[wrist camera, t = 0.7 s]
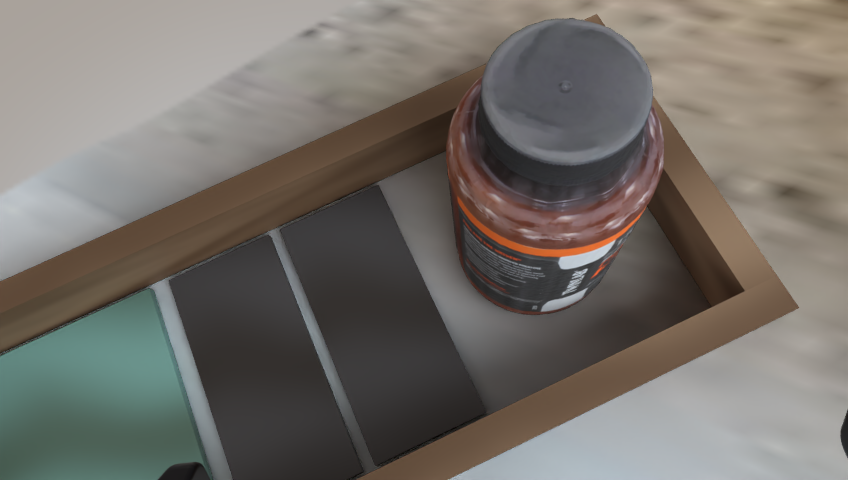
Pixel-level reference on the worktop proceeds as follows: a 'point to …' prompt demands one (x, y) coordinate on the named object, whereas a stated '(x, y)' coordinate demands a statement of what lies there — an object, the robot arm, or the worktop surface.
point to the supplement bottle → (552, 163)
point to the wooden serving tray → (337, 318)
